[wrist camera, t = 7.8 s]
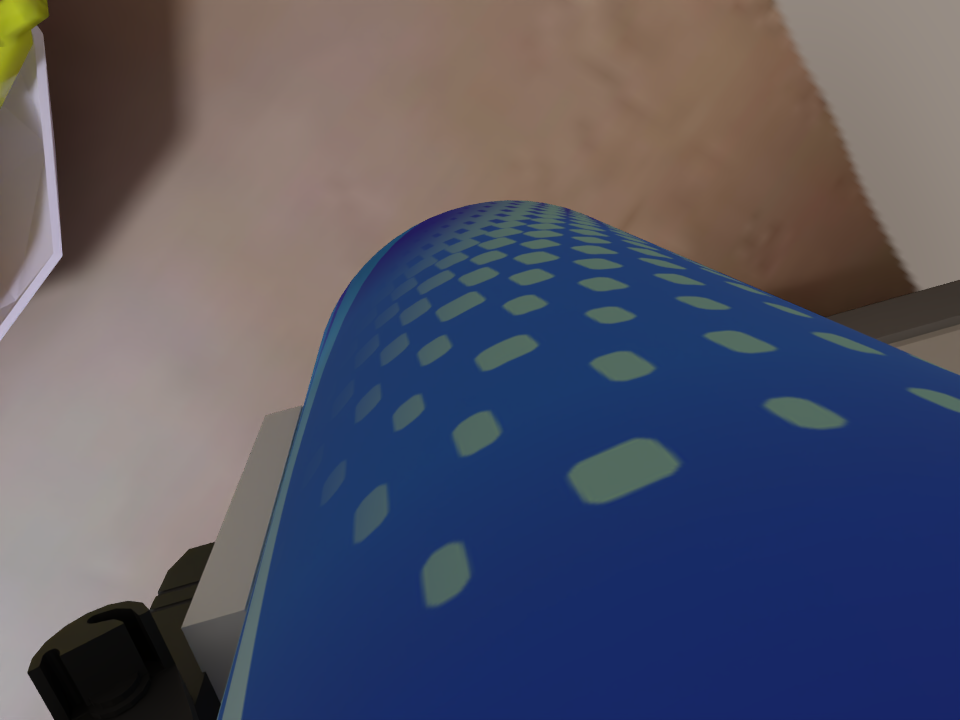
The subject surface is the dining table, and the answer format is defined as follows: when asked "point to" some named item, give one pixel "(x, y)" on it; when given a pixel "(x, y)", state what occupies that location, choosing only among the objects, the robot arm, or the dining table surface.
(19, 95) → the fruit bowl
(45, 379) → the dining table surface
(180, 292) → the dining table surface
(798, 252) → the dining table surface
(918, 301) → the plinth
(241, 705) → the beer can
